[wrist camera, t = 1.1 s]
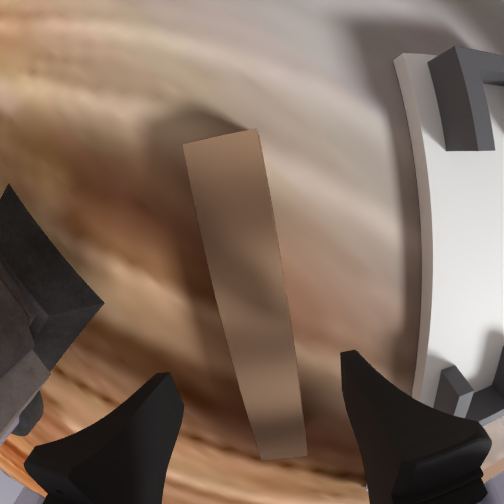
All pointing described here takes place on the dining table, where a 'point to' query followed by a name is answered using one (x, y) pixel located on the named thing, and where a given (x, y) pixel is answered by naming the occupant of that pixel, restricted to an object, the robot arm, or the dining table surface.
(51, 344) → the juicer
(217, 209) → the walnut slat
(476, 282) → the end cap cradle
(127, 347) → the dining table surface
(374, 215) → the dining table surface
